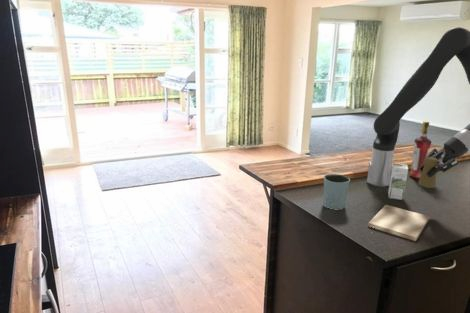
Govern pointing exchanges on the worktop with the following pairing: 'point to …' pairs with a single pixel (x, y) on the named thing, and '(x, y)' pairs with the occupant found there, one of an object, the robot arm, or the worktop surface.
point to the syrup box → (397, 181)
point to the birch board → (399, 222)
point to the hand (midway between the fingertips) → (424, 172)
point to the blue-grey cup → (335, 190)
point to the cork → (428, 165)
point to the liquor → (420, 151)
